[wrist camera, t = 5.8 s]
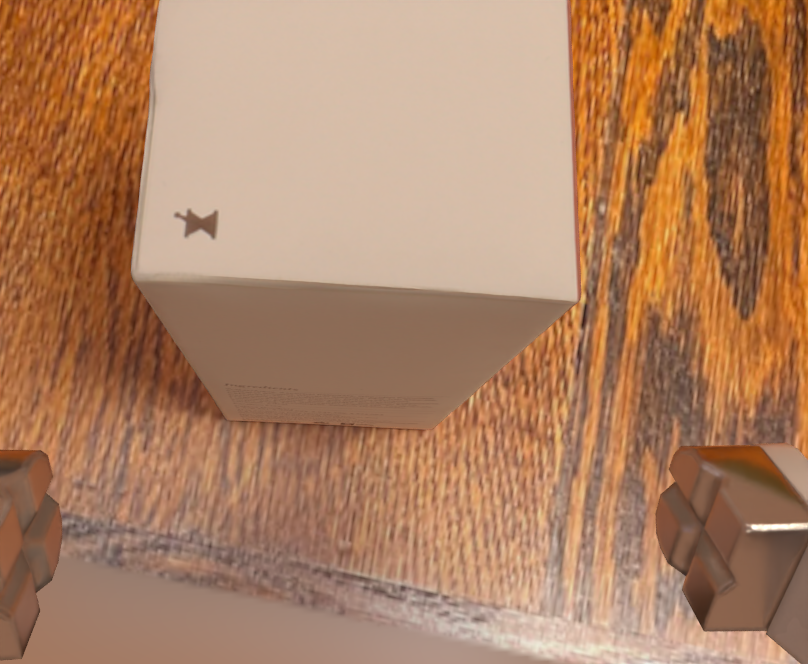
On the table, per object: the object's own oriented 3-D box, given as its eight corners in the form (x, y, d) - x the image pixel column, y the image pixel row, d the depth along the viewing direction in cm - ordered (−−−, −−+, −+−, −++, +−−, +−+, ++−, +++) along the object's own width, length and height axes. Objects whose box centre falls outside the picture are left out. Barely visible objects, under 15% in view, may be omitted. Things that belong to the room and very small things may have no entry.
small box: (435, 432, 23) (590, 314, 10) (222, 423, 22) (113, 284, 10) (439, 188, 25) (572, -155, 12) (244, 172, 24) (179, -209, 12)
